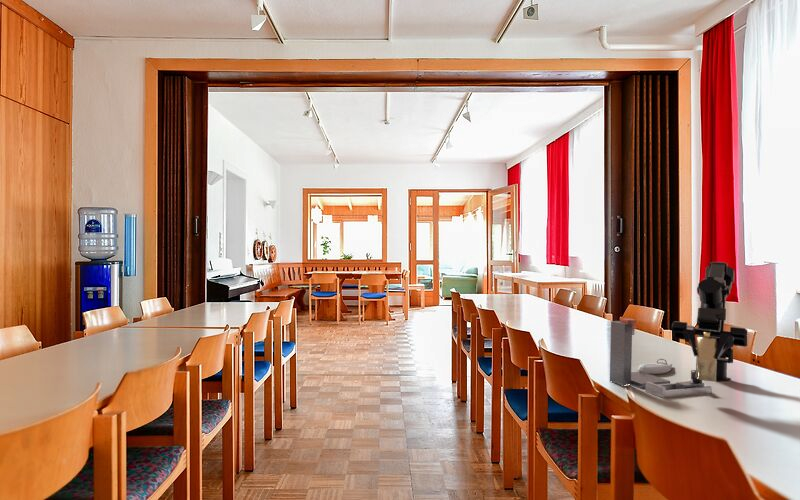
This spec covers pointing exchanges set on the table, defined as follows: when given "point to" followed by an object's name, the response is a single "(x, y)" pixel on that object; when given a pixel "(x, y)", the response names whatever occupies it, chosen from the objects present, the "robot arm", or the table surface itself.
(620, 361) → the press bed
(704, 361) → the disc
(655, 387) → the guide rail
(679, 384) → the sliding block with knob
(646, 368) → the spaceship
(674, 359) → the table surface
